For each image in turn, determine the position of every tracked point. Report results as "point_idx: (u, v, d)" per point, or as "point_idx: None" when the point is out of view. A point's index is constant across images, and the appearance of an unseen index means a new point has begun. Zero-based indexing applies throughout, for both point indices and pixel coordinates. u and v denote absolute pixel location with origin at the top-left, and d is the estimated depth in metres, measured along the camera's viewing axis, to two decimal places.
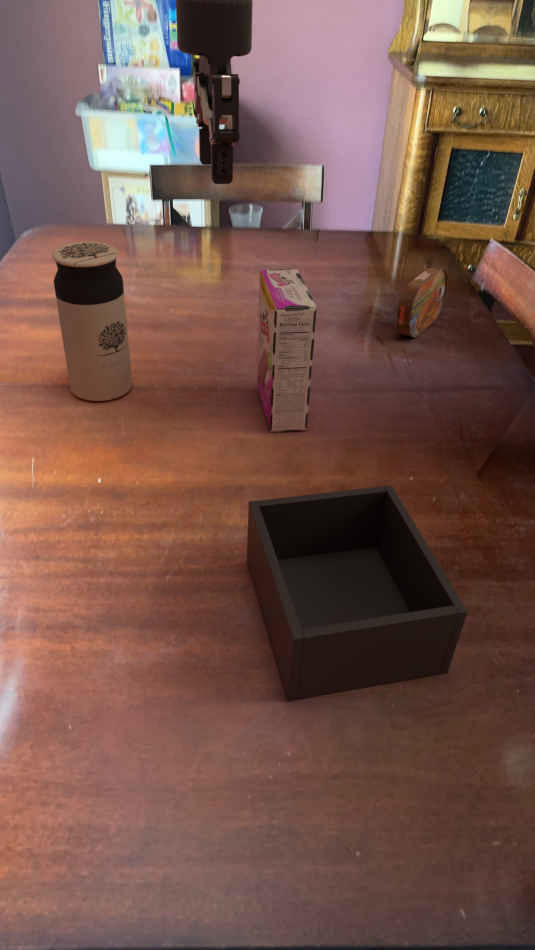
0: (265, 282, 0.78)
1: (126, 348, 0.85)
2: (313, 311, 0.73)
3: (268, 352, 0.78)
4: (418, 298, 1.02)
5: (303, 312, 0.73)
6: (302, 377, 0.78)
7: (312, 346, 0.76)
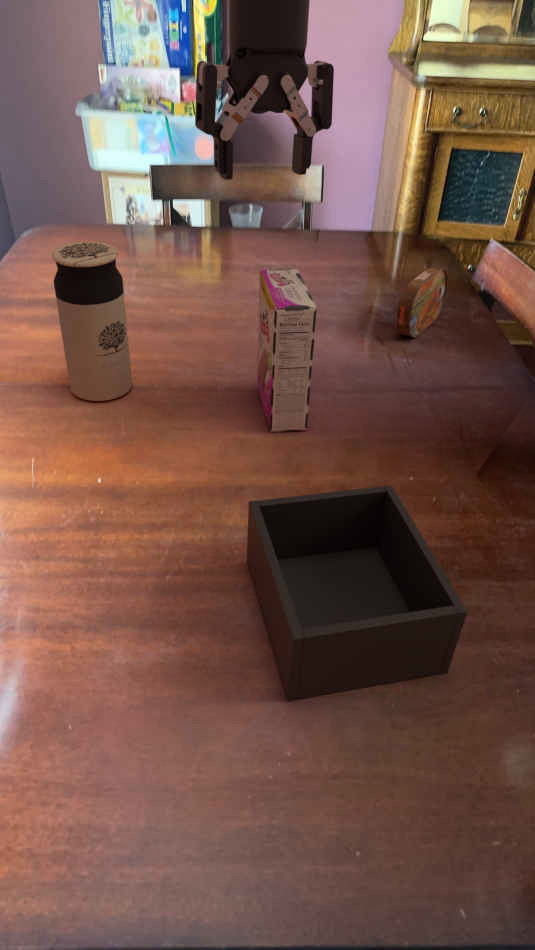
0: (265, 282, 0.78)
1: (126, 348, 0.85)
2: (313, 311, 0.73)
3: (268, 352, 0.78)
4: (418, 298, 1.02)
5: (303, 312, 0.73)
6: (302, 377, 0.78)
7: (312, 346, 0.76)
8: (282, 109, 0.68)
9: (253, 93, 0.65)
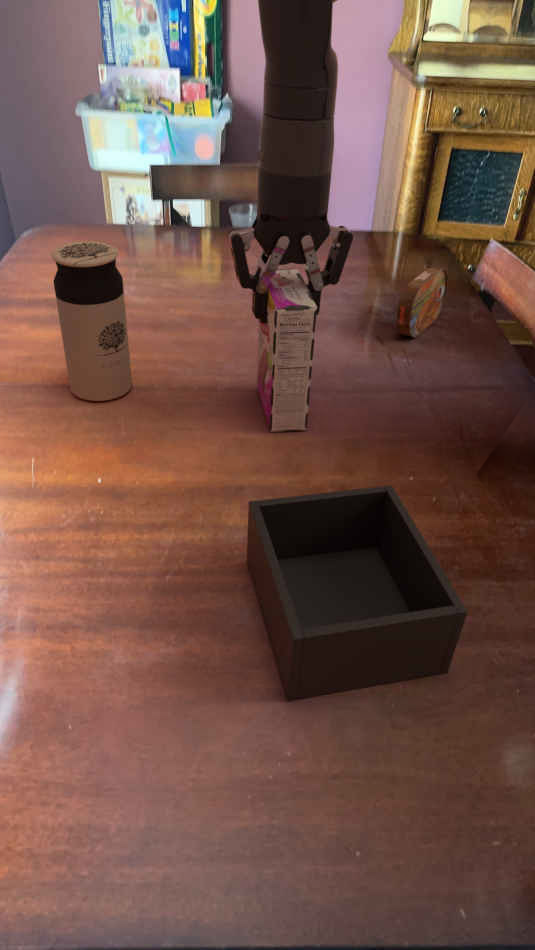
0: None
1: (126, 348, 0.85)
2: (313, 311, 0.73)
3: (268, 352, 0.78)
4: (418, 298, 1.02)
5: (303, 312, 0.73)
6: (302, 377, 0.78)
7: (312, 346, 0.76)
8: (304, 261, 0.74)
9: (275, 250, 0.72)
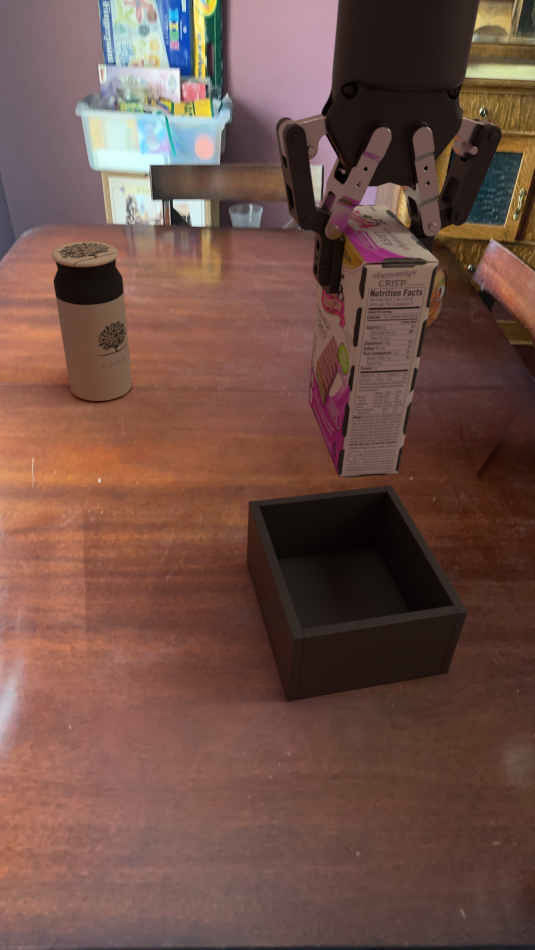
0: None
1: (126, 348, 0.85)
2: (432, 269, 0.40)
3: (341, 344, 0.45)
4: None
5: (413, 271, 0.40)
6: (400, 387, 0.45)
7: (423, 333, 0.43)
8: (411, 180, 0.41)
9: (364, 155, 0.39)
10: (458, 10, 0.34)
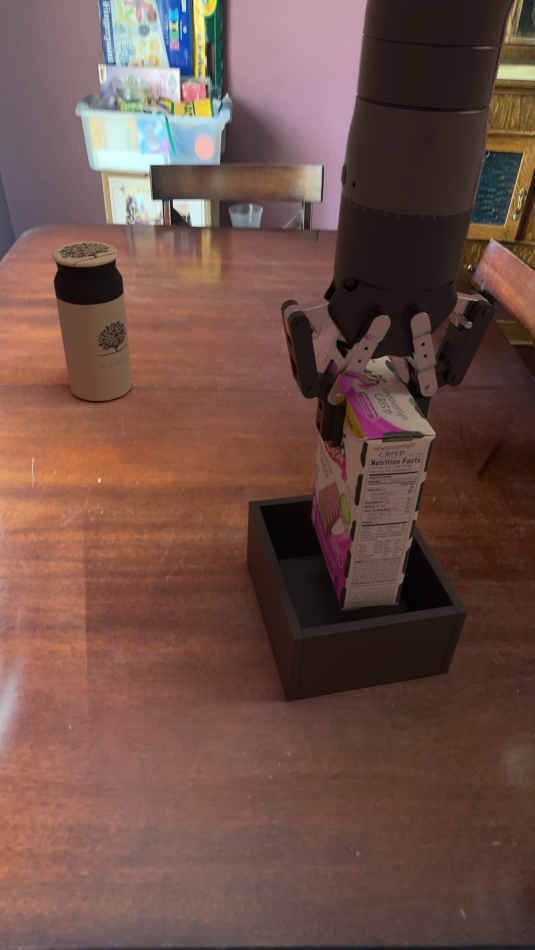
0: None
1: (126, 348, 0.85)
2: (429, 441, 0.42)
3: (343, 494, 0.47)
4: None
5: (412, 443, 0.42)
6: (399, 536, 0.47)
7: (421, 492, 0.45)
8: (409, 352, 0.44)
9: (364, 338, 0.41)
10: (453, 226, 0.36)
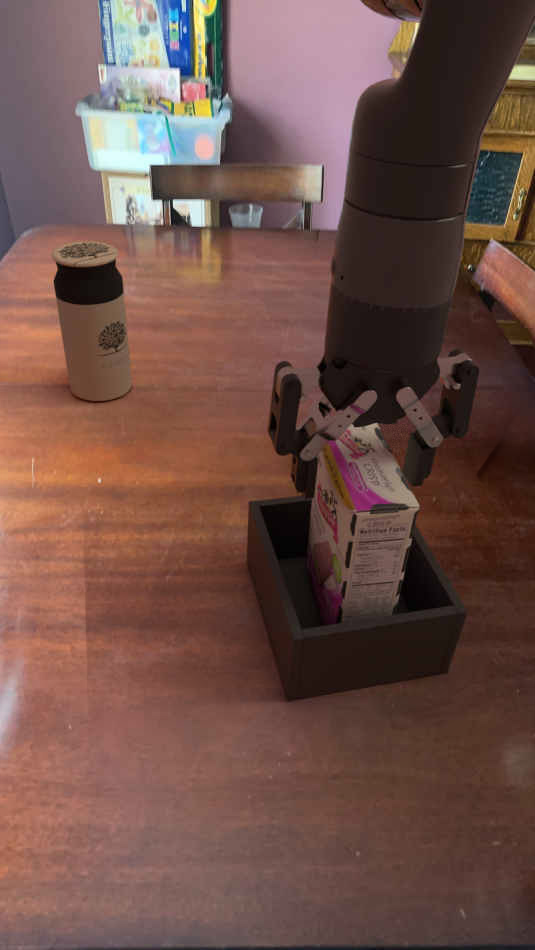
0: (330, 449, 0.51)
1: (126, 348, 0.85)
2: (413, 512, 0.46)
3: (335, 555, 0.51)
4: None
5: (397, 514, 0.46)
6: (387, 594, 0.51)
7: (406, 555, 0.49)
8: (395, 420, 0.47)
9: (353, 410, 0.44)
10: (433, 316, 0.40)
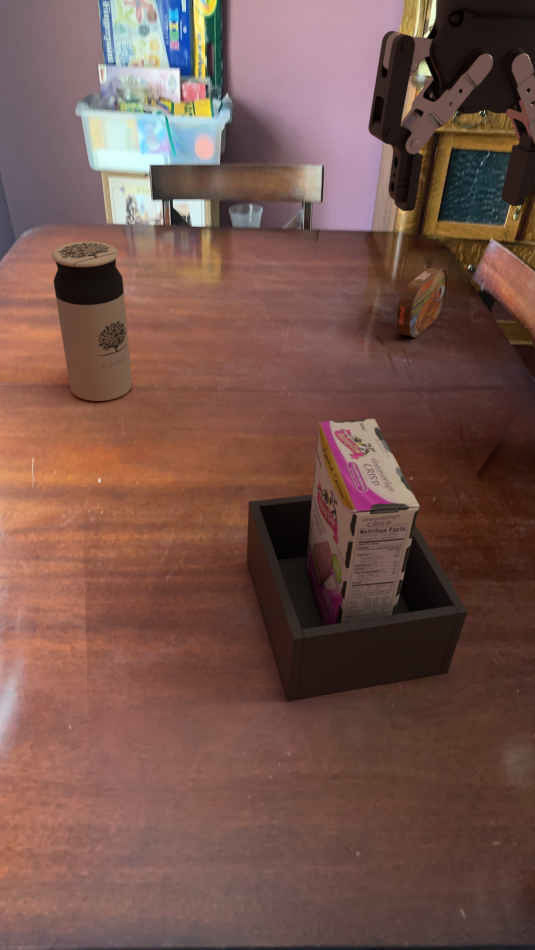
0: (330, 449, 0.51)
1: (126, 348, 0.85)
2: (413, 512, 0.46)
3: (335, 555, 0.51)
4: (418, 298, 1.02)
5: (397, 514, 0.46)
6: (387, 594, 0.51)
7: (406, 555, 0.49)
8: (505, 107, 0.44)
9: (466, 82, 0.42)
10: None
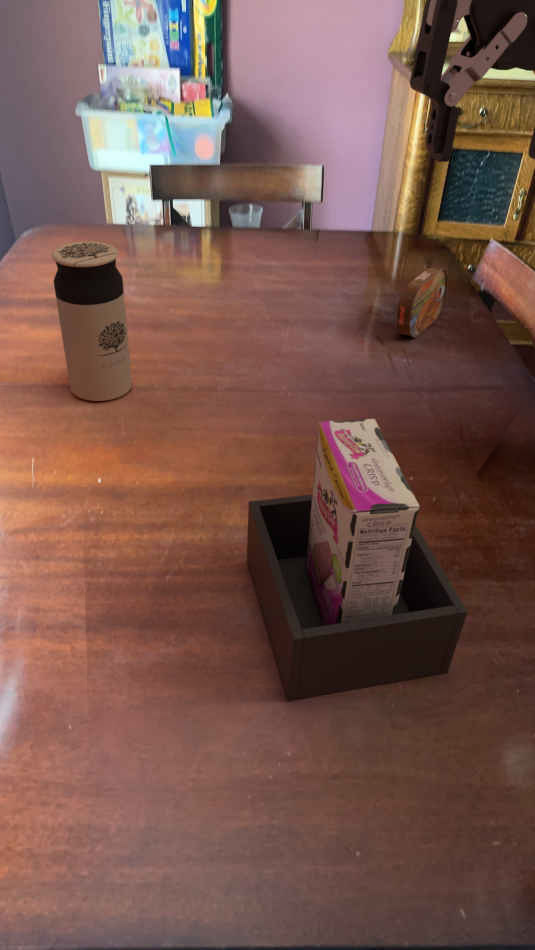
0: (330, 449, 0.51)
1: (126, 348, 0.85)
2: (413, 512, 0.46)
3: (335, 555, 0.51)
4: (418, 298, 1.02)
5: (397, 514, 0.46)
6: (387, 594, 0.51)
7: (406, 555, 0.49)
8: None
9: (502, 38, 0.46)
10: None
